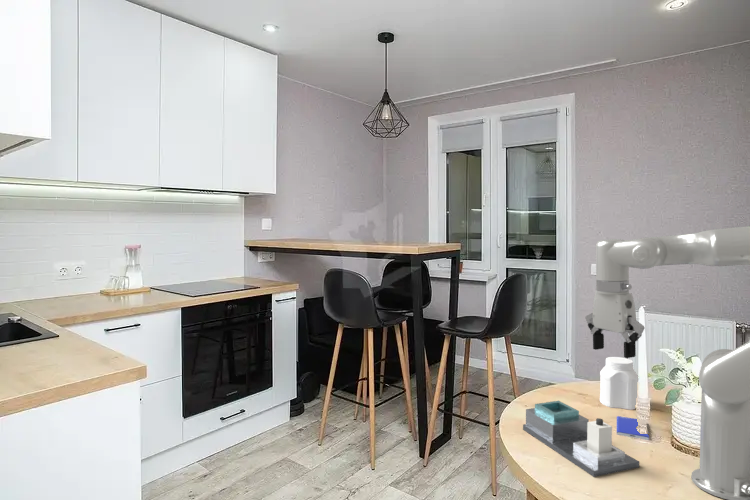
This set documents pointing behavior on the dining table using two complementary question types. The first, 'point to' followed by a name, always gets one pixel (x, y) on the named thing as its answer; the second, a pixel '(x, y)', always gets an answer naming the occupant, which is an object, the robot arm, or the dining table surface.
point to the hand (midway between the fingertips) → (613, 352)
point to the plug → (599, 436)
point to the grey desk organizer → (573, 439)
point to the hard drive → (629, 428)
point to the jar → (618, 383)
